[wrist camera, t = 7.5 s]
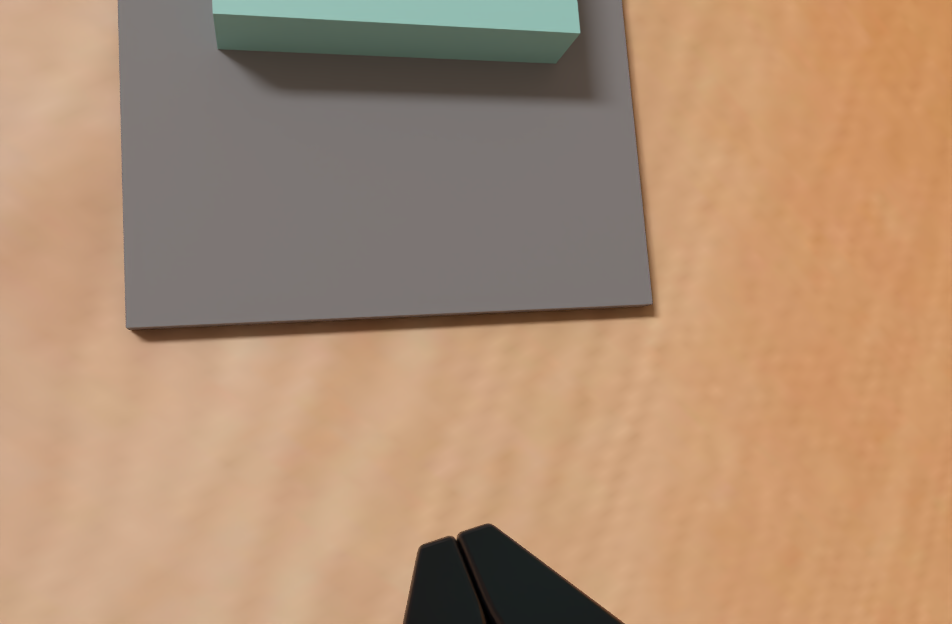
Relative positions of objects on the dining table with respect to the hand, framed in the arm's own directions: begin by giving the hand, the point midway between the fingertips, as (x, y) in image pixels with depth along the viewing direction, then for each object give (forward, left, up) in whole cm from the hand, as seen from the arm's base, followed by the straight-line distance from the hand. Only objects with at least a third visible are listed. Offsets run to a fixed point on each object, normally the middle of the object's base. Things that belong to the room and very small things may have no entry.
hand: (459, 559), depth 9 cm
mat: (+10, -8, -9) cm, 16 cm away
